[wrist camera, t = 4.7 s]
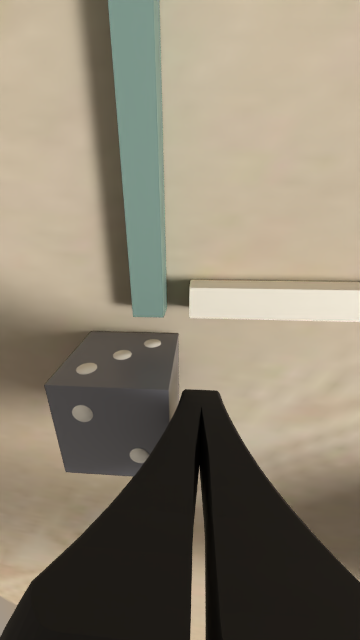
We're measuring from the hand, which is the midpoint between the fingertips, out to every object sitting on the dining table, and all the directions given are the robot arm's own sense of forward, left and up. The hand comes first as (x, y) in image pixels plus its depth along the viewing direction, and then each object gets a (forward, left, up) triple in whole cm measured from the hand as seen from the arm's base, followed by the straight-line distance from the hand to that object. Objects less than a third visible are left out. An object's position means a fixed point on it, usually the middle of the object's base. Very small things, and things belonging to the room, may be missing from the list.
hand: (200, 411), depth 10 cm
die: (0, +3, -3) cm, 4 cm away
